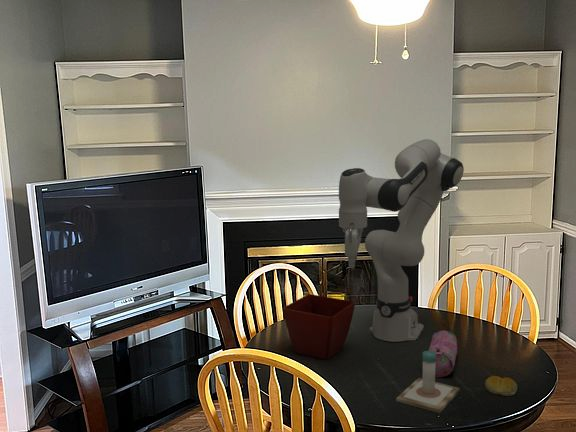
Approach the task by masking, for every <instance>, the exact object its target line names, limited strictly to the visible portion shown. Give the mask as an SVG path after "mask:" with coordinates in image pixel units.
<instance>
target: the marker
mask: <svg viewBox="0 0 576 432" xmlns="http://www.w3.org/2000/svg"><path fill="white" fill-rule="evenodd" d="M435 362H436V353H435V352H433V351H428V350H424V351H423V352H422V378H421V379H422V392H423V393H424V394H426V395H433V394H434V393H435V382H436V377H435Z"/></svg>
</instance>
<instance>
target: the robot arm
mask: <svg viewBox="0 0 576 432" xmlns="http://www.w3.org/2000/svg"><path fill="white" fill-rule="evenodd" d="M394 168H395V172H396V173H397V175H398V176H399V177H400V178H383V177H375V176H374V177H373V176H371V175H369V174H368V173H367V172H366V170H365V169H363V168H360V167H355V168H348V169H345V170H343V171H342V172H341V173H340V178H339V181H338V201H339V208H338V227H340V228H341V229H342V232H343V233H344V256H345V257H347V259H348V268H349V269H355V267H356V262H357V258H358V253H359V248H360V245H361V243H362V242H361V240H362V233H363V232H364V228H367V227H368V208H372V209H379V210H380V209H381V210H385V211H389V212H397V219H398V222H399V226H398V228H397V231H393V230H392V231H391V230H386V229H376V230H372V231H370V232H368V234H367V235H366V237H365V240H364V247H365V250H366V252H367V253H368V254H369V256H370V258H371V259H372V263H373V264H374V268H375V273H376V278H377V297H376V301H375V302H376V303H375V304H376V309H375V310H373V315H372V316H373V319H372V326H370V327H369V332H370V333H372V335H373V336H374V337H375V338H376V339H379V340H381V341H386V342H392V343H393V342H394V343H395V342H396V343H397V342H406V341H417V340H418V338H419V336H420V335H421V333H422V332H421V331H423V330H424V329H425V326H424V324H422V323H420V322H418V321H419V319H418V316H419V315H418V313H417V312H416V311H415V310H414V309H413V308H412V307H411V303H412V302H413V299H414V298H413V296H410V295H409V277H408V275H407V274H406V273H405V271H404V270H403V268H402V266H403V267H415V266H417V265H420V263H421V262H422V260H423V259H424V256H425V245H424V244H423V241H422V240H423V233H424V230H425V228H426V227H427V225H428V223H429V222H430V220H431V218H432V217H433V215H434V213H435V211H436V210H437V208H438V207H439V205H440V202H441V201H442V198H443V195H444V192H447V191H448V190H450V189H453V188H454V187H456V186H457V185H458V184H459V183H460V182H461V180H462V177H463V175H464V171H465V170H464V169H465V168H464V165H463V162H461V161H460V160H459V159H457V158H454V157H451V156H449V155H447V154H444V153H442V152H441V148H440V146H439V144H438V143H437V142H436V141H434V140H432V139H430V138H425V139H421V140H418V141H416V142H414V143H412V144H410V145H408V146H407V147H405V148H404V149H402V150H401V151H400V152H399V153H398V154H397V155H396V157H395V159H394ZM416 339H417V340H416Z"/></svg>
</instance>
